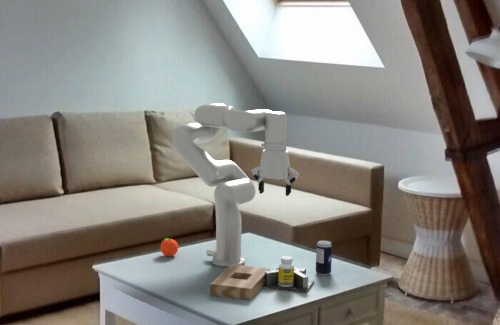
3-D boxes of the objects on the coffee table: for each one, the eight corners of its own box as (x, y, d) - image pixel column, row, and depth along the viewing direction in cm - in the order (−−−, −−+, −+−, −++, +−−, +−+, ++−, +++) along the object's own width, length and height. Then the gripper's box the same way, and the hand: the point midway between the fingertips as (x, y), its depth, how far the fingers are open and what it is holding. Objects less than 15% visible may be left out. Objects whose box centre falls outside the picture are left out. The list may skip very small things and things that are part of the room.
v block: (261, 287, 258) (261, 273, 257) (270, 277, 269) (270, 264, 268) (306, 293, 254) (307, 279, 253) (313, 282, 264) (314, 269, 263)
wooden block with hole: (210, 295, 250) (210, 283, 250) (231, 274, 271) (231, 264, 270) (250, 300, 246) (251, 288, 245) (269, 279, 267) (269, 268, 266)
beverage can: (330, 276, 271) (331, 245, 268) (314, 275, 272) (315, 243, 270) (331, 271, 276) (332, 240, 274) (316, 270, 277) (317, 239, 275)
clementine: (154, 256, 292) (154, 238, 291) (166, 251, 297) (166, 234, 296) (170, 259, 287) (170, 242, 286) (181, 255, 293) (181, 238, 292)
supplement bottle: (282, 288, 255) (283, 260, 253) (275, 283, 260) (275, 256, 258) (296, 285, 257) (297, 258, 256) (288, 281, 262) (289, 254, 260)
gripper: (249, 146, 262) (248, 194, 265) (296, 149, 257) (295, 198, 260) (255, 143, 269) (254, 190, 272) (302, 146, 264) (300, 193, 267)
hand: (274, 194), depth 266 cm, fingers open, 9 cm apart
